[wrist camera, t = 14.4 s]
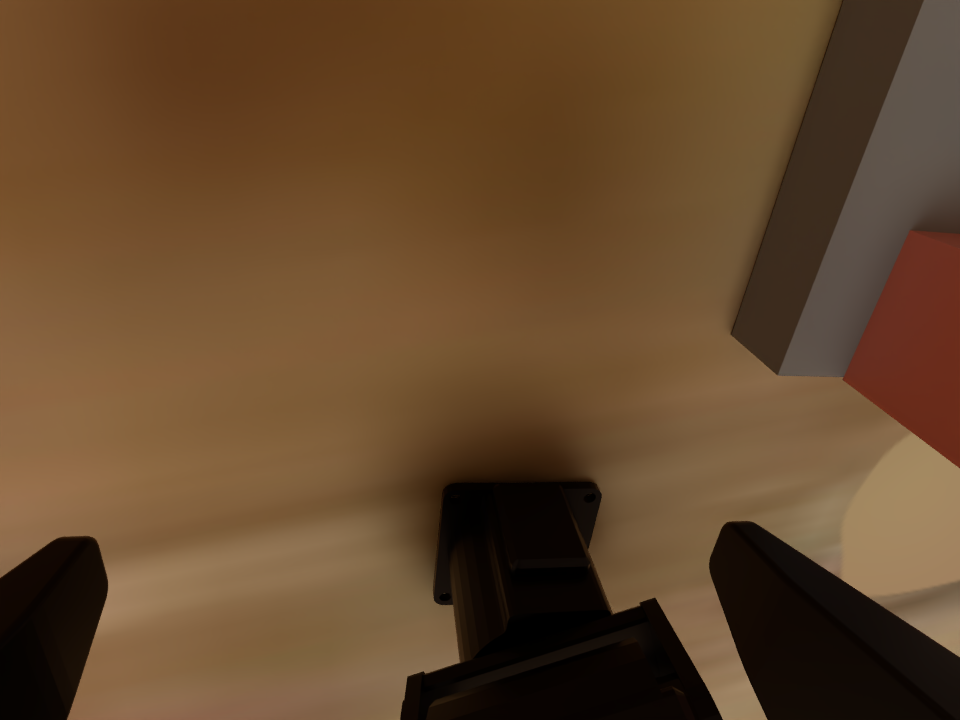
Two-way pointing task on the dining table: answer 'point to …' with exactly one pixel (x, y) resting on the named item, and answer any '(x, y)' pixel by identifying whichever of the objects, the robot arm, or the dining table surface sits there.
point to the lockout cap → (917, 343)
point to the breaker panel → (858, 183)
